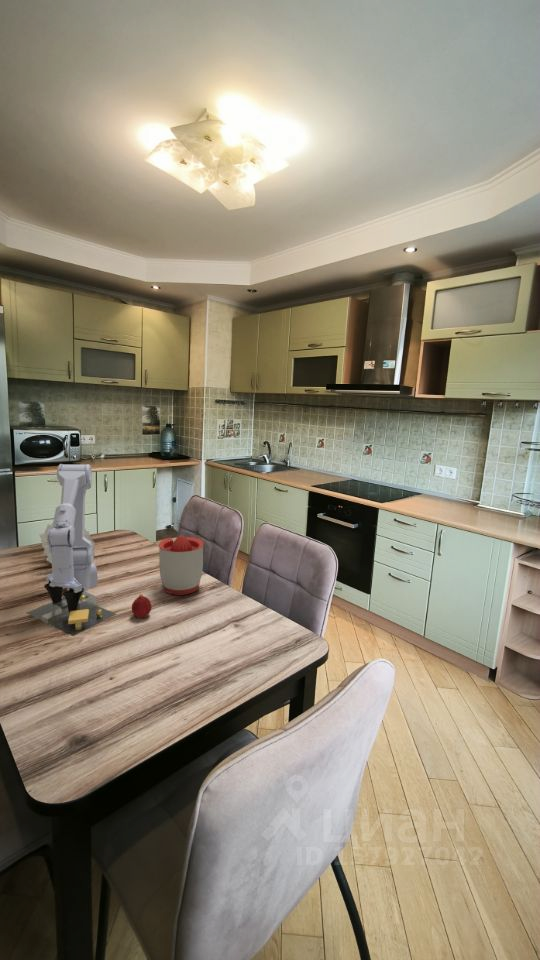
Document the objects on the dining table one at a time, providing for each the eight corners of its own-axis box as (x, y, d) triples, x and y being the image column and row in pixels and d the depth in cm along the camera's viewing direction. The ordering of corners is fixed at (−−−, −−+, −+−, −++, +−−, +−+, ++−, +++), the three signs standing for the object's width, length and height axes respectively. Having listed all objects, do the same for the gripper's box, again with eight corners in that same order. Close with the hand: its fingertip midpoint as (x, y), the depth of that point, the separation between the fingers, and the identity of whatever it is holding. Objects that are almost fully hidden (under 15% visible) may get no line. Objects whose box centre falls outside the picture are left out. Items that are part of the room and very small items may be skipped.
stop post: (99, 615, 126) (99, 608, 126) (103, 616, 126) (103, 609, 125) (95, 617, 125) (95, 610, 125) (98, 618, 124) (98, 612, 124)
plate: (70, 596, 139) (70, 594, 139) (117, 616, 127) (116, 614, 127) (26, 615, 126) (25, 612, 126) (73, 638, 115) (73, 635, 115)
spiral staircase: (74, 561, 180) (86, 579, 159) (31, 550, 170) (38, 568, 149) (92, 522, 182) (106, 534, 162) (50, 509, 172) (59, 520, 151)
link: (83, 599, 135) (83, 589, 135) (96, 605, 132) (96, 594, 132) (38, 619, 123) (37, 608, 122) (51, 625, 119) (50, 614, 119)
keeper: (70, 621, 122) (70, 611, 122) (89, 618, 124) (88, 609, 123) (68, 631, 117) (68, 621, 116) (87, 629, 118) (87, 618, 118)
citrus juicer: (199, 576, 160) (199, 526, 156) (206, 595, 144) (207, 540, 140) (157, 579, 155) (156, 528, 151) (160, 600, 139) (159, 543, 135)
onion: (155, 616, 128) (155, 592, 127) (142, 624, 123) (142, 599, 122) (141, 611, 131) (140, 588, 129) (127, 620, 126) (127, 595, 124)
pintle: (83, 603, 133) (83, 593, 132) (87, 605, 132) (87, 595, 131) (77, 606, 131) (77, 595, 131) (81, 607, 130) (81, 597, 130)
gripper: (35, 564, 124) (38, 606, 126) (65, 576, 117) (67, 620, 119) (57, 557, 130) (59, 597, 132) (87, 568, 123) (89, 610, 125)
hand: (65, 608), depth 126 cm, fingers open, 7 cm apart
